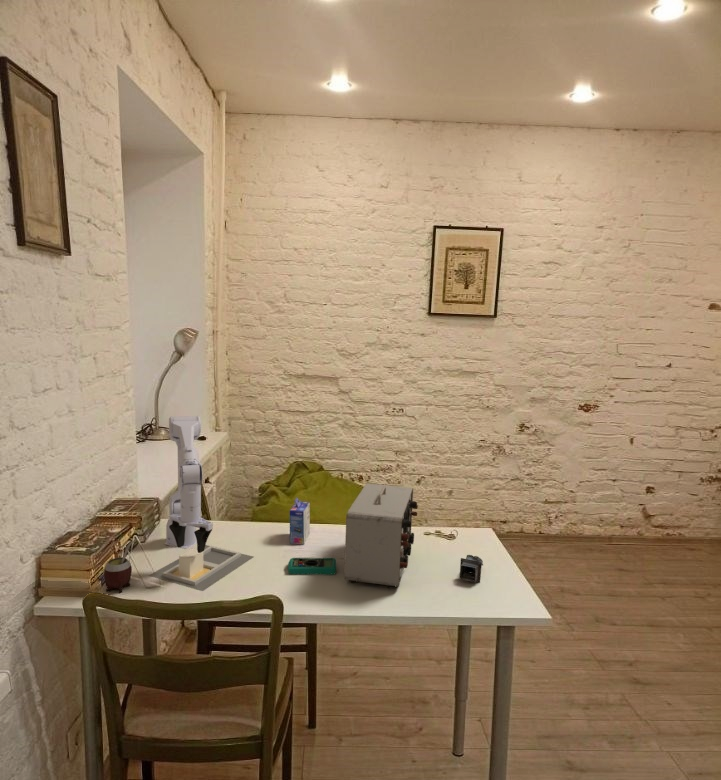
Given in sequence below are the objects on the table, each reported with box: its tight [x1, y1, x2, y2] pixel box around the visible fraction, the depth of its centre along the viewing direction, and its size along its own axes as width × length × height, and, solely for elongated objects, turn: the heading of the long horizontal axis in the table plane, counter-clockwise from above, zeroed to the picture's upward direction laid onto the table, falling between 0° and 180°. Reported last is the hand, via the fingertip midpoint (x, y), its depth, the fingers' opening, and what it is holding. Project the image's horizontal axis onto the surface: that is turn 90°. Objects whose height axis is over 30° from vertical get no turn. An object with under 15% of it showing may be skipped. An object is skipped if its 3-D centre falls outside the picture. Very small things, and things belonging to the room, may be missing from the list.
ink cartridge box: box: [289, 497, 311, 545], centre depth 188 cm, size 10×6×14 cm, turn 174°
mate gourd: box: [103, 538, 138, 594], centre depth 149 cm, size 8×8×15 cm
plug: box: [178, 548, 203, 578], centre depth 159 cm, size 4×7×6 cm, turn 157°
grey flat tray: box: [148, 544, 254, 592], centre depth 164 cm, size 20×25×2 cm
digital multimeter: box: [287, 557, 337, 576], centre depth 166 cm, size 7×15×3 cm, turn 93°
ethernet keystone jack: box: [459, 554, 484, 583], centre depth 166 cm, size 6×13×6 cm, turn 158°
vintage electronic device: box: [343, 483, 418, 589], centre depth 169 cm, size 32×18×25 cm, turn 168°
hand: (190, 548), depth 158 cm, fingers open, 7 cm apart
